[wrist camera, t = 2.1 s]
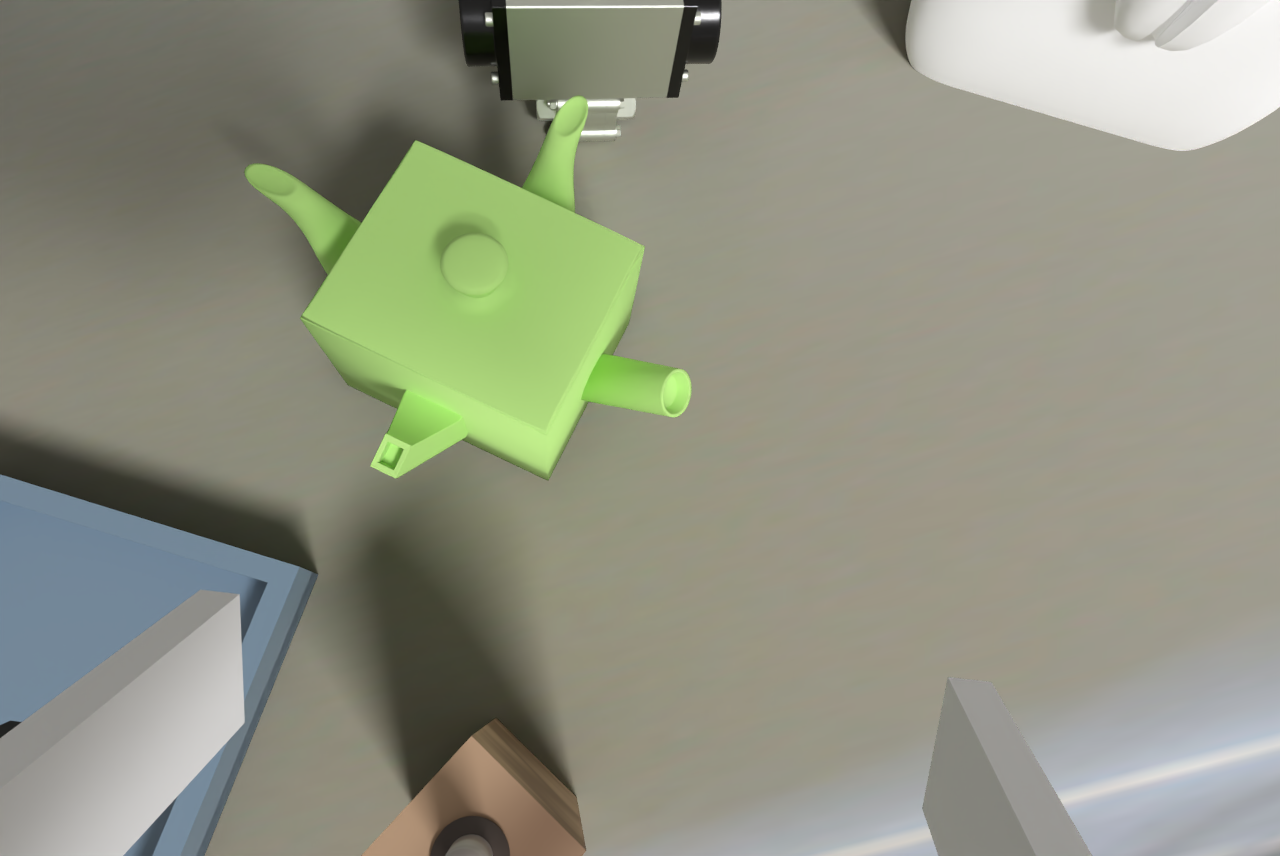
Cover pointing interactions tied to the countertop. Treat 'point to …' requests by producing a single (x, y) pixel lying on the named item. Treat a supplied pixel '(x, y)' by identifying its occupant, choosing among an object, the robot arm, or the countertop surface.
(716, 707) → the countertop surface
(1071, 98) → the toaster
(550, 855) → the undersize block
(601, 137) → the pneumatic valve
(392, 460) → the kettle
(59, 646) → the tray
